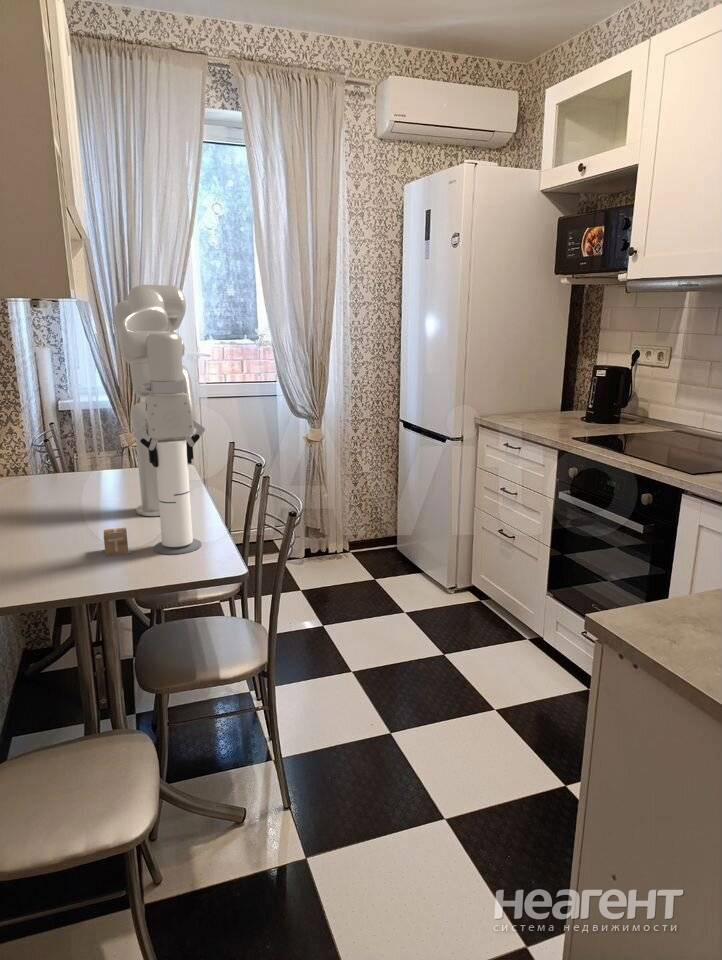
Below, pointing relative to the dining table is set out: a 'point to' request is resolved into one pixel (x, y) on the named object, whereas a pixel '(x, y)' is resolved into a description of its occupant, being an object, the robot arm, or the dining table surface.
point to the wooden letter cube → (115, 541)
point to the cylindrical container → (174, 492)
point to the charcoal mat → (177, 548)
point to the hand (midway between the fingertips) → (172, 463)
